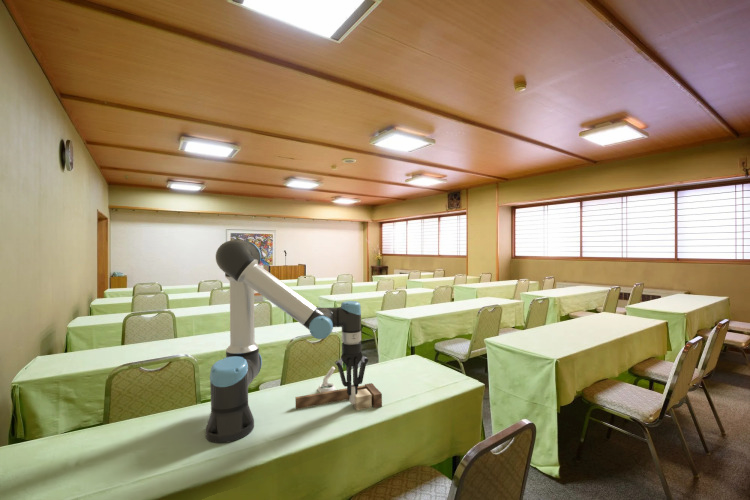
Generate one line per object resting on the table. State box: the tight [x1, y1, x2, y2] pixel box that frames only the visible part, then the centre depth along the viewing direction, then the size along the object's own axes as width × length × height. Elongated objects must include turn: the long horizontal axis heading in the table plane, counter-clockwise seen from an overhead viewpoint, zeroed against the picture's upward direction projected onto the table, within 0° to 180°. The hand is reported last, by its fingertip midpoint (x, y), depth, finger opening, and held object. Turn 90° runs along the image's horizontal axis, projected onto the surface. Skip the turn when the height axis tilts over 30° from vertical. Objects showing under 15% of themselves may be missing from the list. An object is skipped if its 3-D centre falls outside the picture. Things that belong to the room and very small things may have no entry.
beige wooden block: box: [352, 389, 373, 411], centre depth 133 cm, size 6×6×5 cm
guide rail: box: [295, 382, 383, 410], centre depth 132 cm, size 32×12×5 cm, turn 111°
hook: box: [317, 366, 336, 393], centre depth 148 cm, size 8×12×7 cm
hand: (352, 402), depth 132 cm, fingers closed
